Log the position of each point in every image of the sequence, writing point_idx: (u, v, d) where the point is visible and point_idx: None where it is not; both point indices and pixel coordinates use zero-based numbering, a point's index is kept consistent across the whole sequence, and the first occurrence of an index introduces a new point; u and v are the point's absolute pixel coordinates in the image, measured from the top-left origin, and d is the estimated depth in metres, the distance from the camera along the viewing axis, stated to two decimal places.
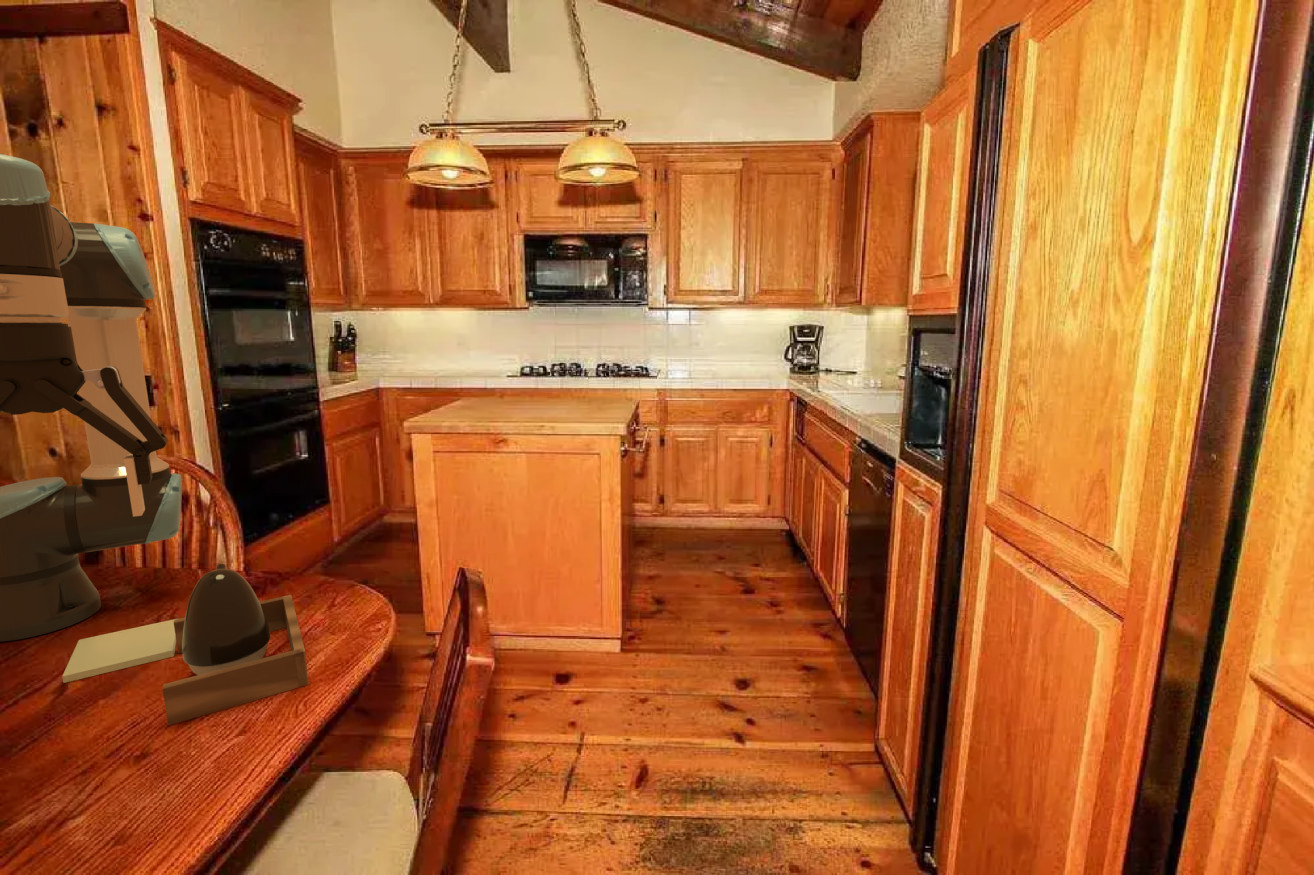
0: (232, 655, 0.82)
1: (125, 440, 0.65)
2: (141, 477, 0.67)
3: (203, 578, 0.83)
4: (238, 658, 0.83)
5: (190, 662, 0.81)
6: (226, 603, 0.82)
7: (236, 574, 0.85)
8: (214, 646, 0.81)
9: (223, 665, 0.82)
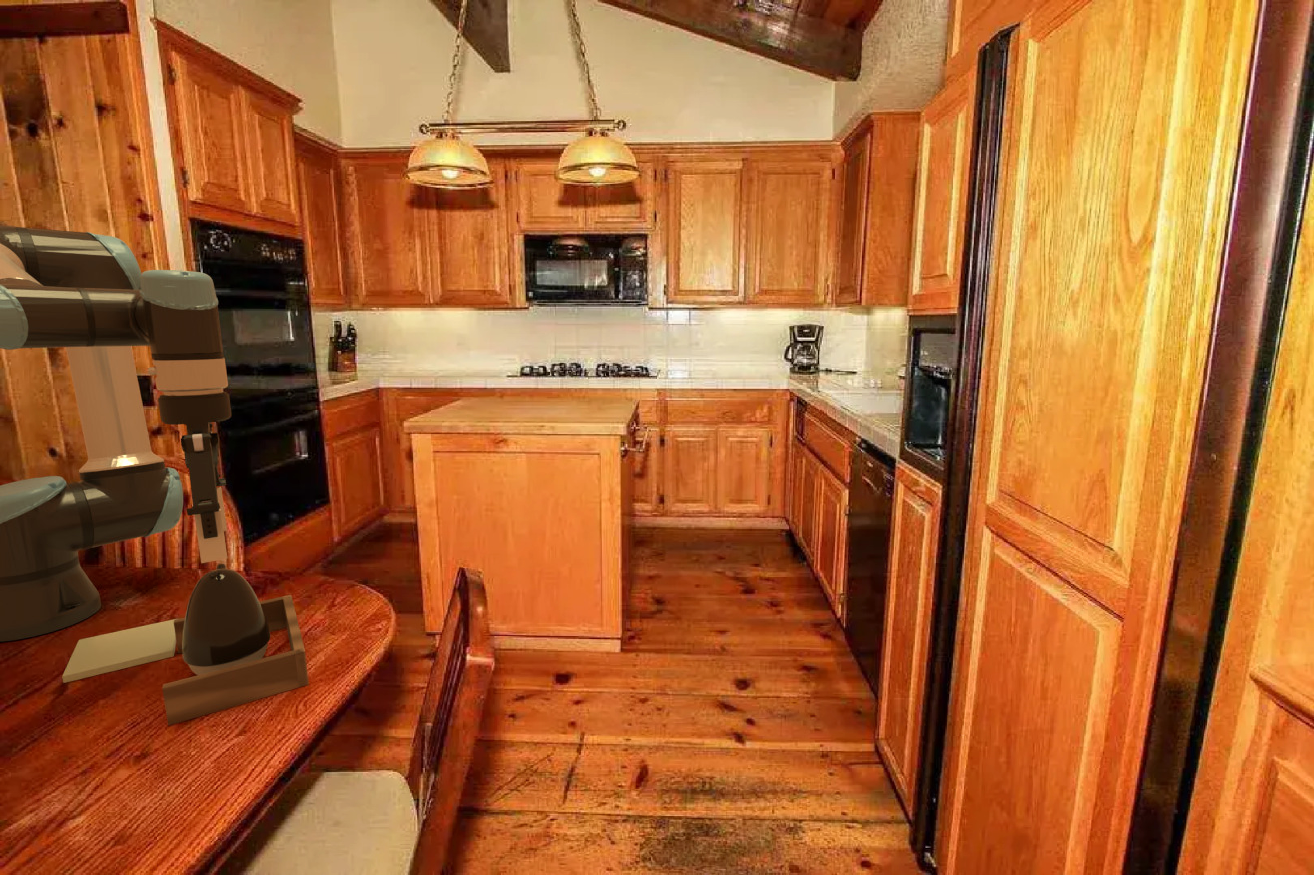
0: (232, 655, 0.82)
1: None
2: (203, 531, 0.76)
3: (203, 578, 0.83)
4: (238, 658, 0.83)
5: (190, 662, 0.81)
6: (226, 603, 0.82)
7: (236, 574, 0.85)
8: (214, 646, 0.81)
9: (223, 665, 0.82)
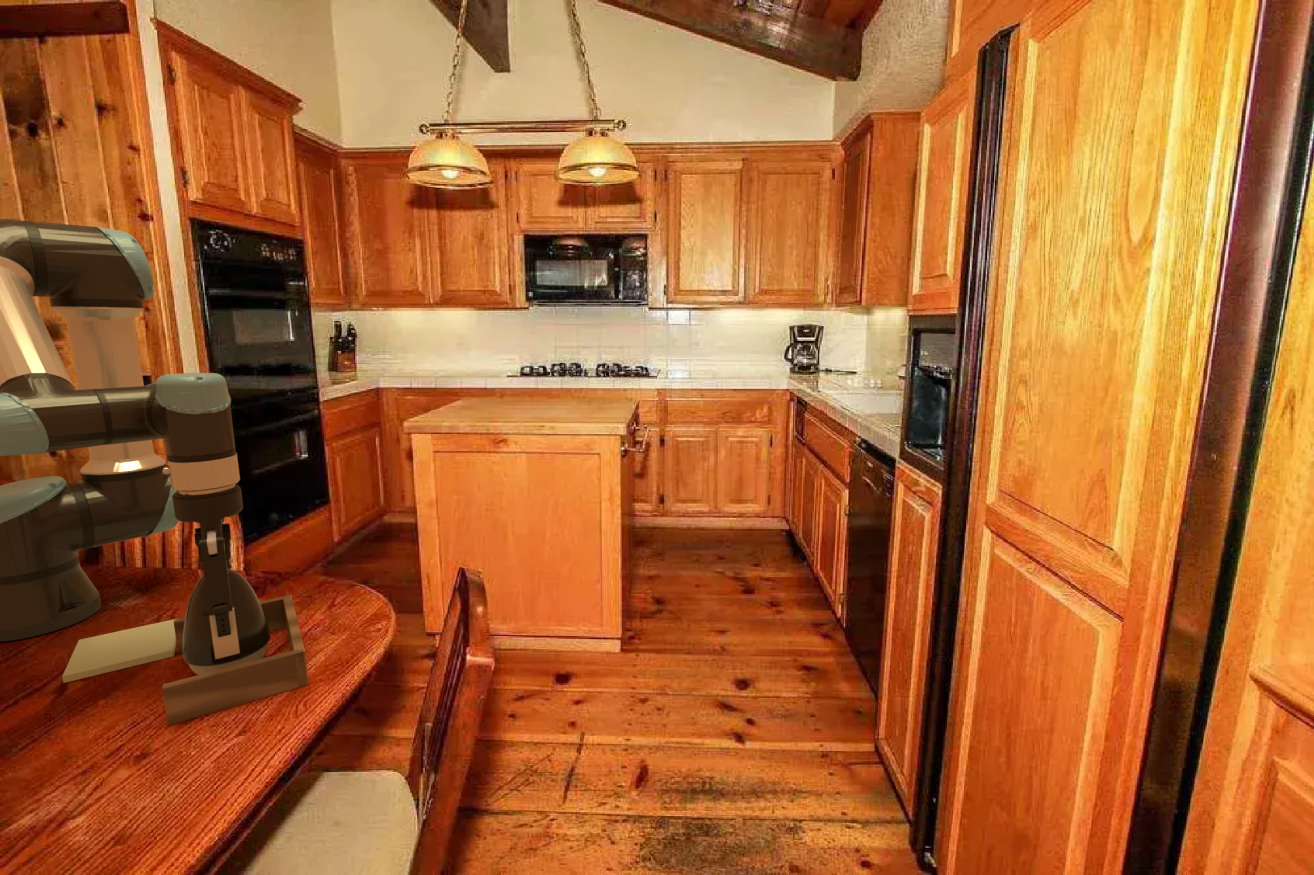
0: (232, 655, 0.82)
1: None
2: (217, 630, 0.80)
3: (203, 578, 0.83)
4: (238, 658, 0.83)
5: (190, 662, 0.81)
6: None
7: (236, 574, 0.85)
8: None
9: (224, 665, 0.82)
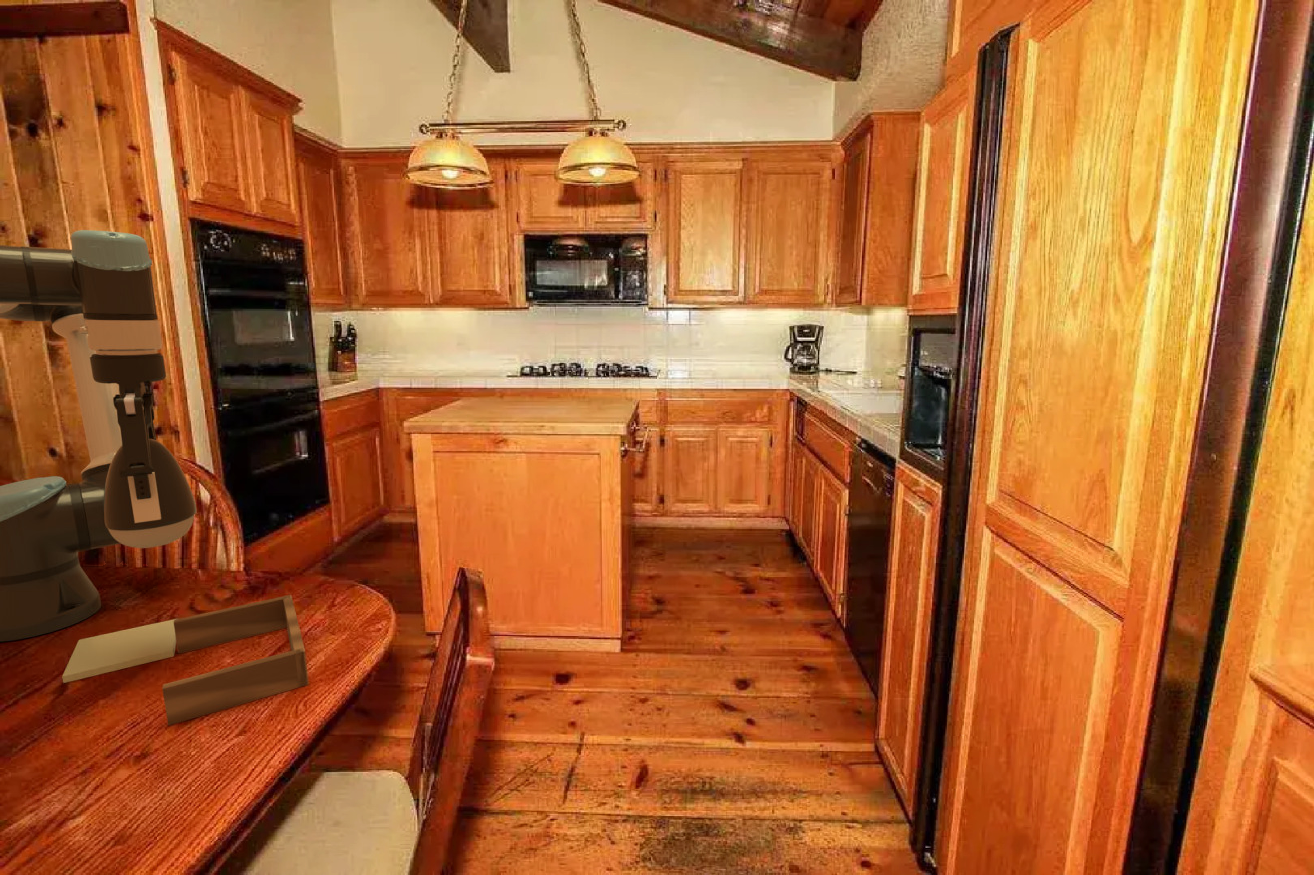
0: (154, 521, 0.82)
1: None
2: None
3: None
4: (160, 525, 0.83)
5: (110, 526, 0.81)
6: None
7: (159, 444, 0.84)
8: None
9: (145, 531, 0.82)
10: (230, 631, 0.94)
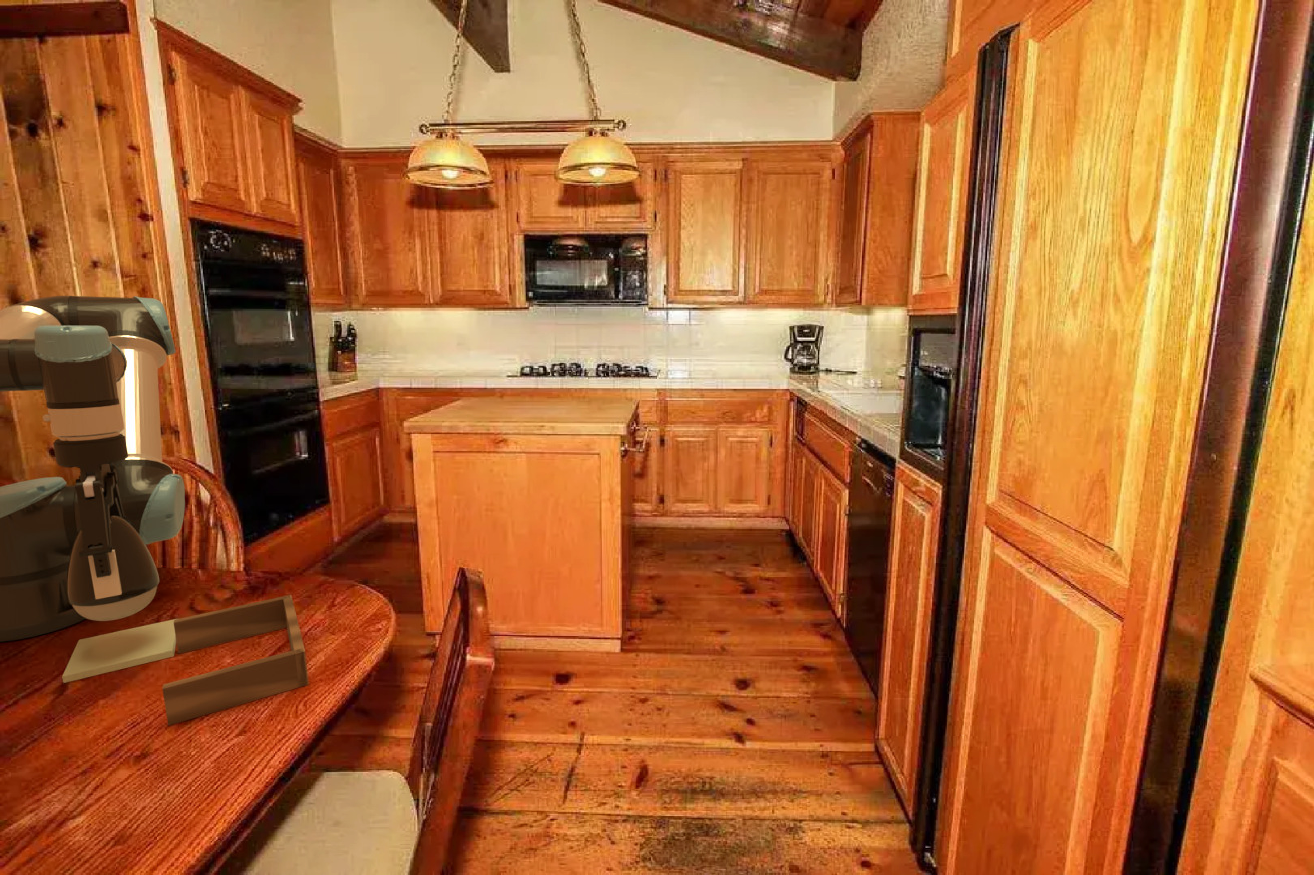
0: (114, 596, 0.86)
1: None
2: None
3: None
4: (120, 599, 0.86)
5: (72, 602, 0.85)
6: None
7: (121, 520, 0.88)
8: None
9: (106, 606, 0.86)
10: (230, 631, 0.94)
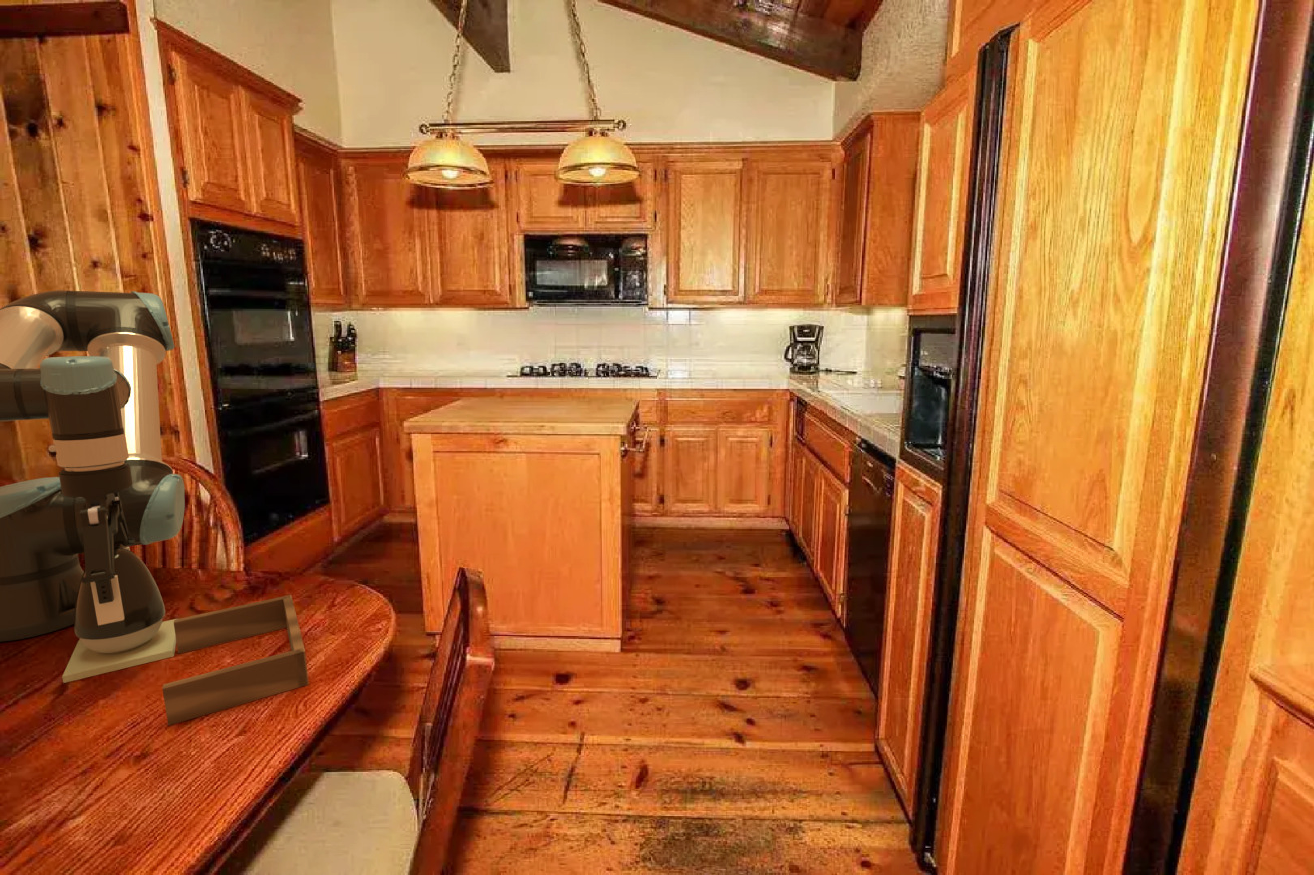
0: (121, 630, 0.87)
1: None
2: None
3: None
4: (127, 632, 0.87)
5: (80, 635, 0.86)
6: None
7: (130, 553, 0.89)
8: None
9: (112, 639, 0.87)
10: (230, 631, 0.94)
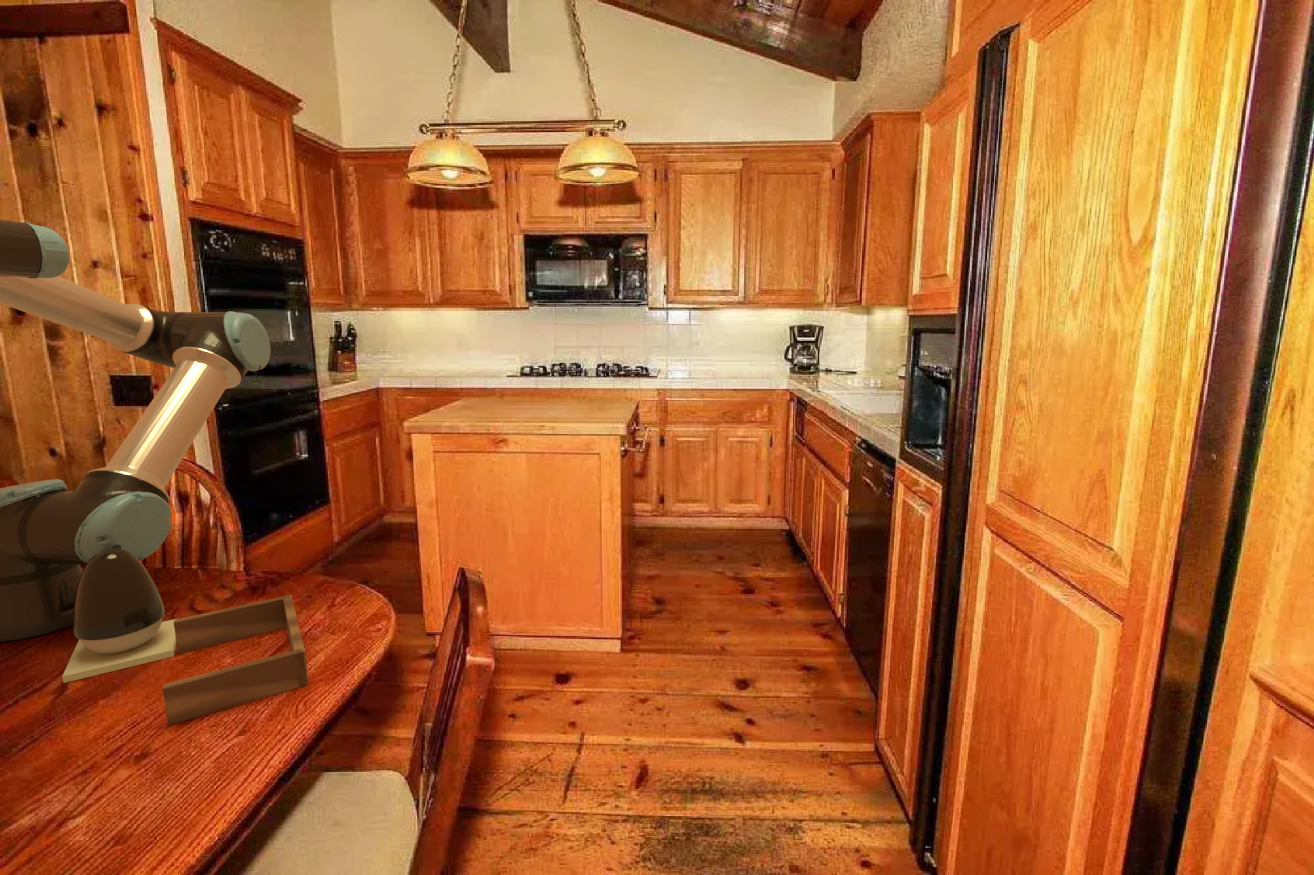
0: (120, 630, 0.87)
1: None
2: None
3: (93, 557, 0.87)
4: (126, 633, 0.87)
5: (79, 636, 0.86)
6: (114, 581, 0.87)
7: (127, 554, 0.89)
8: (101, 621, 0.85)
9: (112, 640, 0.87)
10: (230, 631, 0.94)
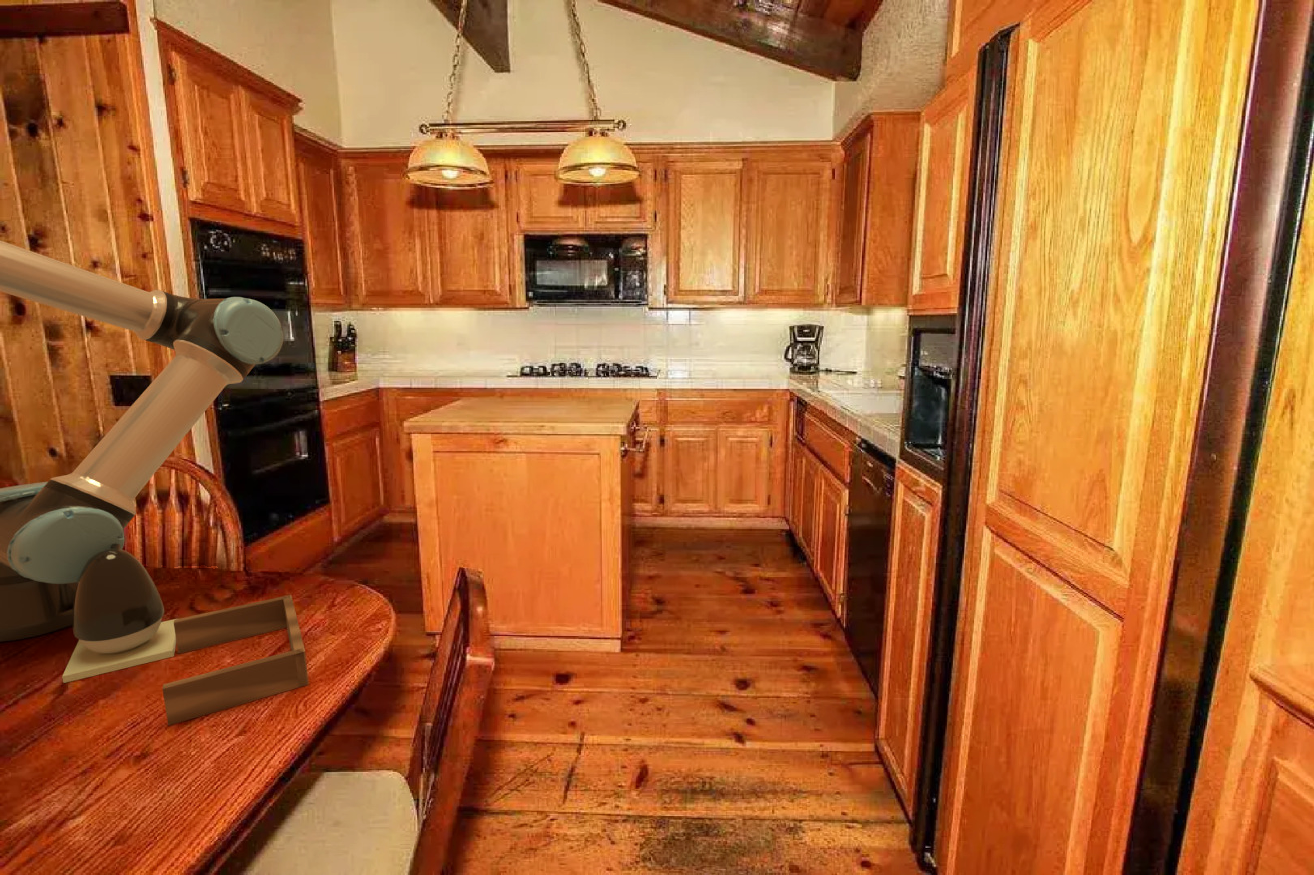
0: (120, 631, 0.86)
1: None
2: None
3: (92, 558, 0.86)
4: (126, 634, 0.87)
5: (79, 637, 0.86)
6: (114, 582, 0.86)
7: (126, 554, 0.89)
8: (101, 622, 0.85)
9: (112, 640, 0.86)
10: (230, 631, 0.94)
